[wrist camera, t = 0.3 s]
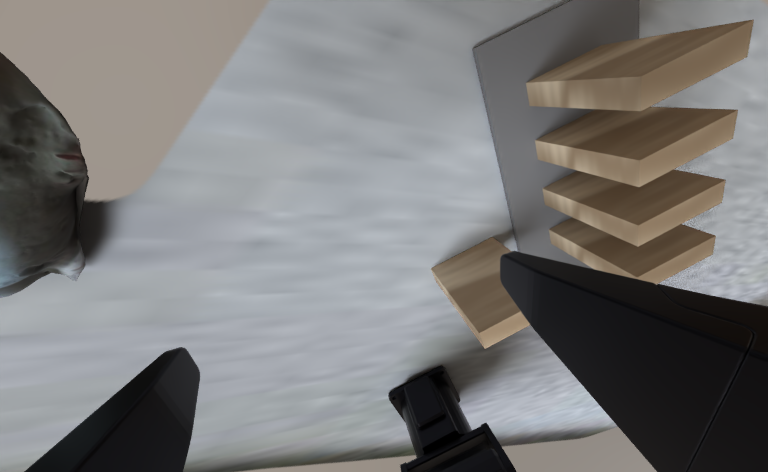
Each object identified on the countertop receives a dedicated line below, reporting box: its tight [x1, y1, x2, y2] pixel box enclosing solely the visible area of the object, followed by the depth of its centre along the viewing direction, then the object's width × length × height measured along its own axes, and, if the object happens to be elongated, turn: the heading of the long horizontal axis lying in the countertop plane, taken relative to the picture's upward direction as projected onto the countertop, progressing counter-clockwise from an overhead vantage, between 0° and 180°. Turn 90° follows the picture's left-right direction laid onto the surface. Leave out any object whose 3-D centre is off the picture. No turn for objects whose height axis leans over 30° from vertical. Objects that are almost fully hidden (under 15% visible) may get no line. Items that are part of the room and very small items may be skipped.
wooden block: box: [535, 107, 738, 187], centre depth 20 cm, size 2×6×8 cm, turn 113°
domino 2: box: [526, 20, 754, 111], centre depth 18 cm, size 2×6×8 cm, turn 113°
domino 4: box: [543, 170, 726, 247], centre depth 22 cm, size 2×6×8 cm, turn 113°
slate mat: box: [473, 0, 639, 269], centre depth 25 cm, size 25×12×1 cm, turn 23°
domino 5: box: [549, 217, 716, 284], centre depth 24 cm, size 2×6×8 cm, turn 113°
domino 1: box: [431, 237, 530, 349], centre depth 23 cm, size 2×6×8 cm, turn 113°
